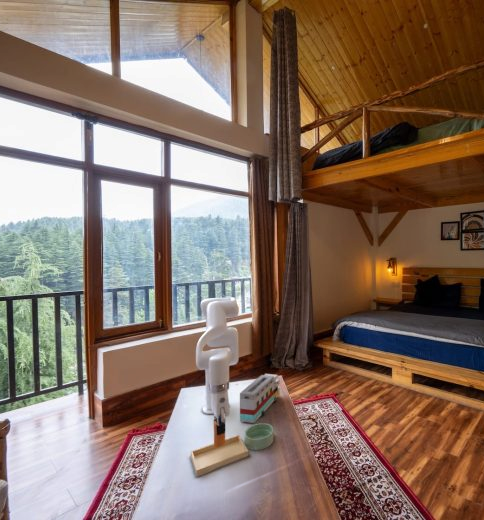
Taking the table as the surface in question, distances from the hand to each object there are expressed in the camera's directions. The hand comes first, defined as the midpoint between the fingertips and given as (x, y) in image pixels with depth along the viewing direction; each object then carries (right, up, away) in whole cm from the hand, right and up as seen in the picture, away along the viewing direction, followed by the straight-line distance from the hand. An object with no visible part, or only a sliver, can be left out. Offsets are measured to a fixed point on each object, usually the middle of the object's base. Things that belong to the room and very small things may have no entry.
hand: (219, 430), depth 121 cm
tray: (0, -11, 0) cm, 11 cm away
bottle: (0, -5, 0) cm, 5 cm away
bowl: (+13, -11, +10) cm, 20 cm away
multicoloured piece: (+7, -11, +38) cm, 40 cm away
